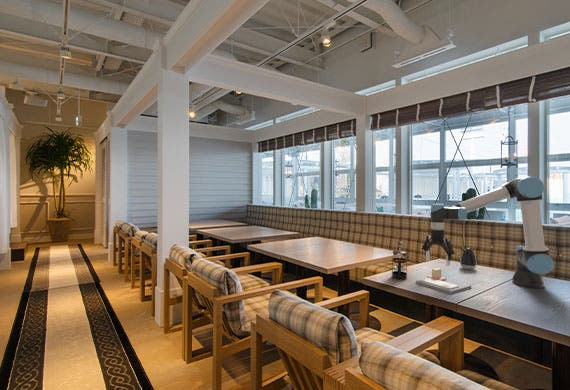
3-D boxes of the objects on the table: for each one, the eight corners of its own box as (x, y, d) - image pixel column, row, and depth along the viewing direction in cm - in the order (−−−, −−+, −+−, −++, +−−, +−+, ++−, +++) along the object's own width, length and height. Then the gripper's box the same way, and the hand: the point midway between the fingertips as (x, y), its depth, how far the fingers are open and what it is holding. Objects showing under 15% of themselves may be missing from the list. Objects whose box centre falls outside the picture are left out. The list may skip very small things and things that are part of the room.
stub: (446, 279, 197) (446, 270, 196) (440, 280, 194) (440, 271, 193) (432, 275, 204) (433, 266, 204) (427, 277, 201) (427, 267, 201)
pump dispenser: (456, 267, 233) (456, 246, 232) (469, 267, 234) (470, 246, 234) (465, 271, 223) (466, 249, 222) (479, 270, 224) (480, 249, 223)
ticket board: (471, 288, 186) (471, 284, 186) (450, 294, 176) (450, 289, 175) (436, 278, 205) (436, 274, 205) (415, 283, 194) (415, 279, 194)
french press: (407, 281, 199) (408, 244, 198) (391, 279, 202) (391, 243, 201) (406, 276, 210) (407, 240, 209) (391, 274, 213) (392, 240, 212)
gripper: (416, 227, 207) (416, 260, 207) (453, 231, 185) (453, 268, 186) (423, 226, 211) (423, 258, 211) (461, 230, 189) (461, 266, 190)
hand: (437, 263), depth 199 cm, fingers open, 13 cm apart
